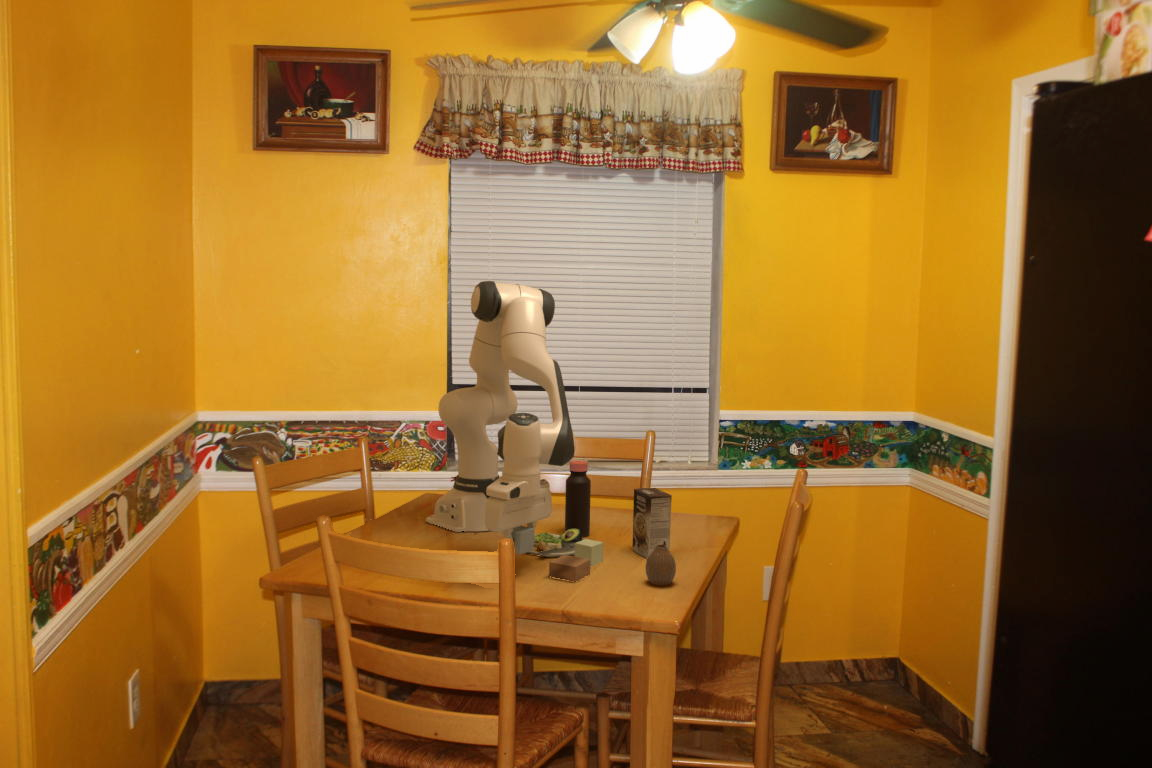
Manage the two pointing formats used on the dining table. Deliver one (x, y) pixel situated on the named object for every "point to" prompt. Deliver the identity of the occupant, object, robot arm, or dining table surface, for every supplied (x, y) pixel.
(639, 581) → the dining table surface
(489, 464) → the robot arm
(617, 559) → the dining table surface
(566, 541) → the salad plate
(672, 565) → the brown rounded piece
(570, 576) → the walnut base
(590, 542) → the green cube
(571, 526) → the bottle
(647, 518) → the coffee box
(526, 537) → the grey cube
